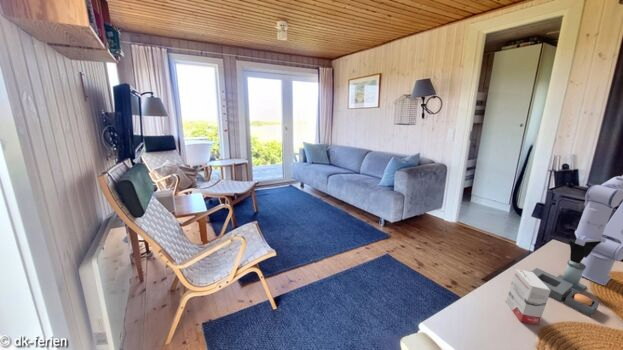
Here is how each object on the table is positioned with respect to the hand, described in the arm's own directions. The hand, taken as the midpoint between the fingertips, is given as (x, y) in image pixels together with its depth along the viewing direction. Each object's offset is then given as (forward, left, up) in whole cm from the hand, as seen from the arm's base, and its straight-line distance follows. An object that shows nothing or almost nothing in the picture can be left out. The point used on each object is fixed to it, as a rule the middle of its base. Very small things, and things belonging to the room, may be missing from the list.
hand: (578, 258), depth 87 cm
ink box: (+31, -2, -11) cm, 33 cm away
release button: (+11, +6, -10) cm, 15 cm away
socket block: (+9, -3, -10) cm, 14 cm away
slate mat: (0, 0, -10) cm, 10 cm away
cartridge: (0, 0, -10) cm, 10 cm away
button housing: (+11, +6, -10) cm, 16 cm away
